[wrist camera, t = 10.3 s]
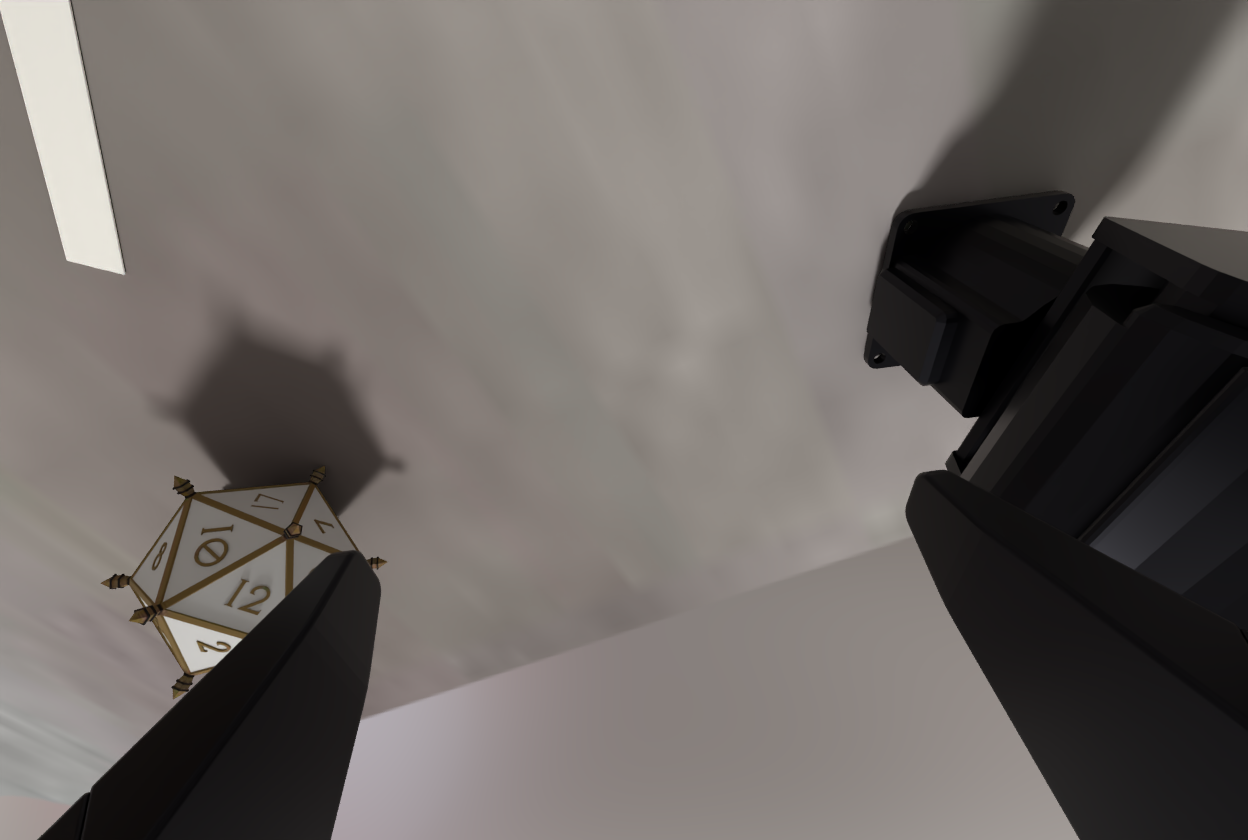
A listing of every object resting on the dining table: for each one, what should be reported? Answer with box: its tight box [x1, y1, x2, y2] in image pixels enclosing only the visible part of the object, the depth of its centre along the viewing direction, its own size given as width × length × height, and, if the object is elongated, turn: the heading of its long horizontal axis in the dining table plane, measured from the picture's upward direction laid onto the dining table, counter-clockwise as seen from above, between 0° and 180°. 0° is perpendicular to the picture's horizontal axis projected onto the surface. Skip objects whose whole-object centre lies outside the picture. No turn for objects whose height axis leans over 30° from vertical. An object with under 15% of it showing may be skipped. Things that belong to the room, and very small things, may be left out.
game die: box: [101, 466, 387, 699], centre depth 21 cm, size 9×8×10 cm
